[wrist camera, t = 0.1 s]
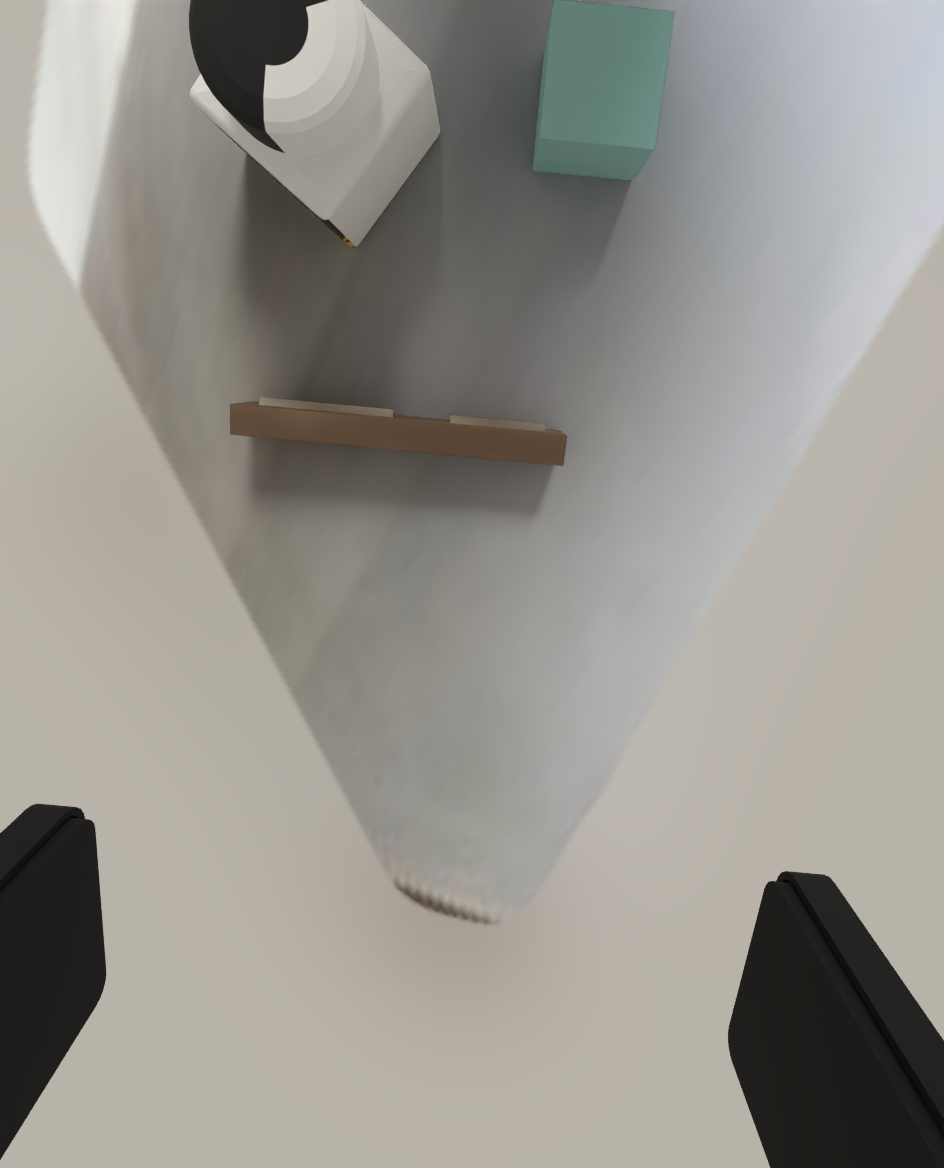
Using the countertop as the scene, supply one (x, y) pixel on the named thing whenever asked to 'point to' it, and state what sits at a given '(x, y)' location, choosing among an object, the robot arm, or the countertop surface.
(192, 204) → the countertop surface
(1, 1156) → the robot arm
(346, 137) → the medicine bottle
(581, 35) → the teal block
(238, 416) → the walnut fence
